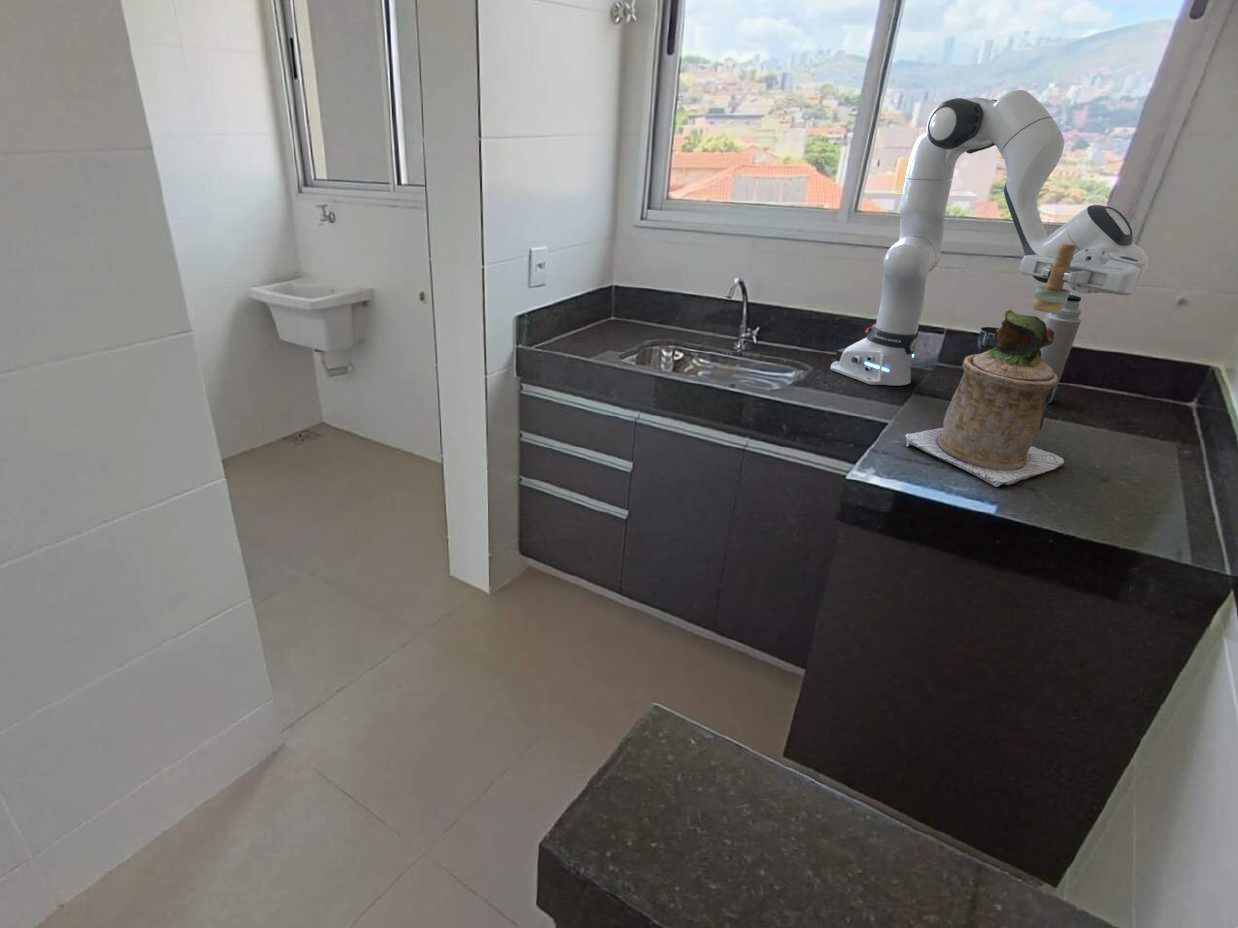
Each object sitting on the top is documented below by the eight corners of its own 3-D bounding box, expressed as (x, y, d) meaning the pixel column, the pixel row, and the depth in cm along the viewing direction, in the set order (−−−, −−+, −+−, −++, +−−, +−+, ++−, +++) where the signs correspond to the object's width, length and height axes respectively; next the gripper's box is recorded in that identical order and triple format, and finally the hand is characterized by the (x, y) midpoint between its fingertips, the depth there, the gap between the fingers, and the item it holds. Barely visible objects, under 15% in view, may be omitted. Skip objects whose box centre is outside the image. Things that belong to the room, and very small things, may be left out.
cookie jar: (1002, 491, 135) (1056, 335, 120) (898, 444, 153) (935, 303, 138) (1066, 466, 147) (1123, 321, 132) (963, 425, 165) (1003, 293, 151)
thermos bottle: (1045, 394, 188) (1081, 293, 175) (1056, 405, 181) (1094, 300, 168) (1015, 391, 189) (1048, 291, 176) (1024, 401, 182) (1059, 297, 169)
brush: (1026, 308, 133) (1047, 243, 127) (1035, 304, 137) (1056, 240, 131) (1058, 314, 130) (1081, 247, 124) (1066, 310, 133) (1088, 244, 128)
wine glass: (959, 378, 197) (974, 328, 190) (979, 376, 200) (994, 326, 193) (982, 387, 191) (998, 335, 184) (1002, 385, 194) (1018, 334, 187)
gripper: (1046, 245, 143) (1009, 249, 136) (1154, 263, 127) (1118, 268, 121) (1036, 276, 145) (999, 280, 139) (1141, 297, 130) (1105, 303, 123)
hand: (1055, 275), depth 130 cm, fingers closed on brush, 3 cm apart
